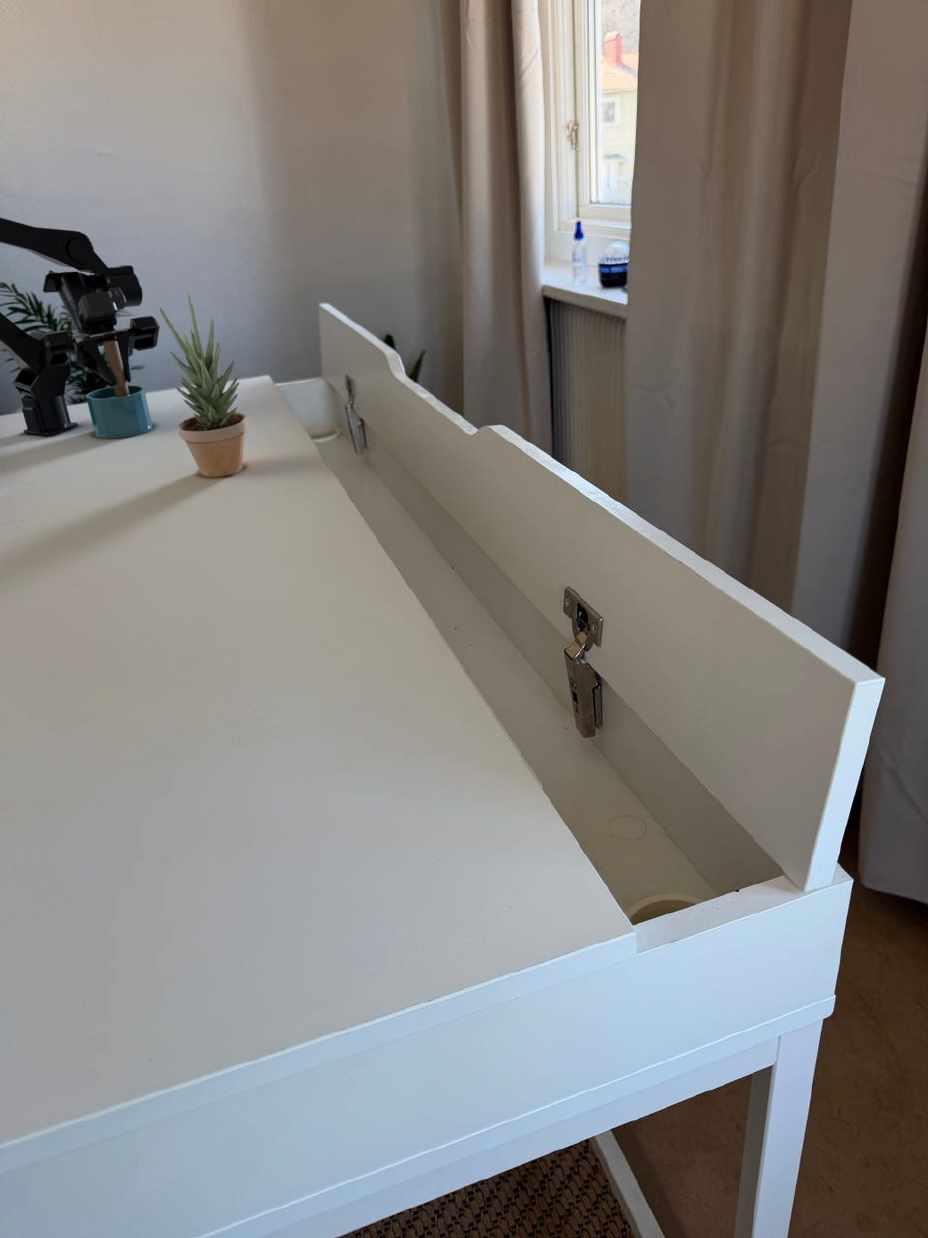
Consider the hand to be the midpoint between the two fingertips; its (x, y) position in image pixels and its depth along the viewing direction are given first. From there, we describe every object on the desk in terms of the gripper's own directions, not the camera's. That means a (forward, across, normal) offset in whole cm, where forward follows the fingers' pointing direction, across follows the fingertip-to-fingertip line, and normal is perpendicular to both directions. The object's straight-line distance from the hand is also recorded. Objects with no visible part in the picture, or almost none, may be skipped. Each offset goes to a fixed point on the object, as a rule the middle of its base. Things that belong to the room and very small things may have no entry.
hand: (122, 382), depth 155 cm
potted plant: (+29, +2, -17) cm, 34 cm away
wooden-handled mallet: (+4, 0, +6) cm, 7 cm away
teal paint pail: (+5, -1, +7) cm, 8 cm away
